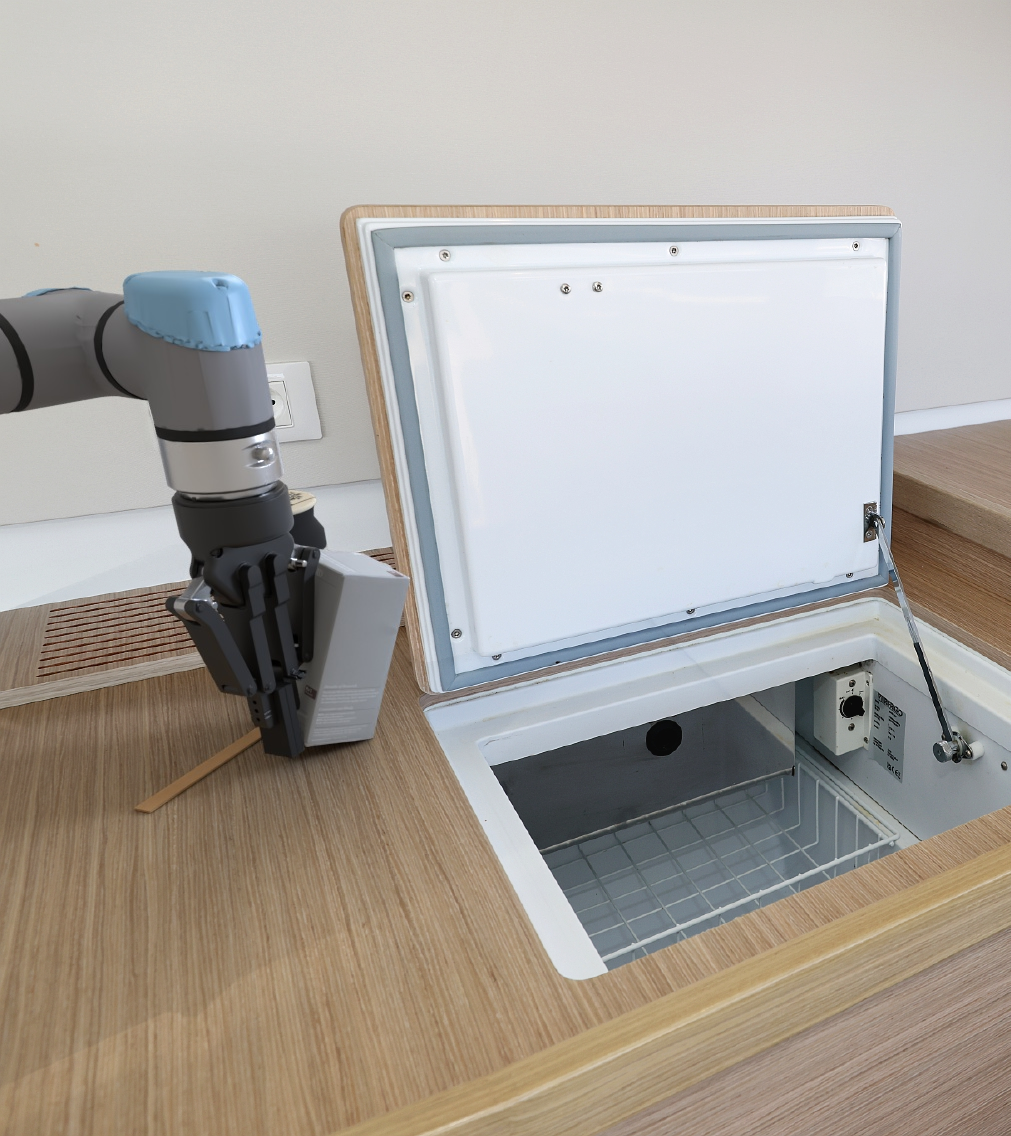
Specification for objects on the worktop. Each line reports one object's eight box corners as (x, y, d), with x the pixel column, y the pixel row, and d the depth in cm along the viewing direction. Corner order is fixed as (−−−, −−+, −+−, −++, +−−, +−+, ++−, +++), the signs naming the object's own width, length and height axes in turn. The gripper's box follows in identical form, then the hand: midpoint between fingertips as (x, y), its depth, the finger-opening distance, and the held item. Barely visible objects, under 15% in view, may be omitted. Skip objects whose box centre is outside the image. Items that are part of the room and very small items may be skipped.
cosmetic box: (256, 717, 84) (282, 545, 82) (335, 708, 90) (362, 548, 89) (305, 750, 80) (334, 570, 78) (385, 739, 86) (414, 571, 84)
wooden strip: (134, 810, 75) (133, 807, 75) (303, 699, 91) (302, 697, 91) (150, 813, 75) (149, 811, 75) (316, 701, 91) (316, 699, 91)
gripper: (198, 517, 65) (262, 803, 74) (334, 468, 77) (375, 720, 85) (108, 505, 66) (181, 787, 75) (255, 459, 78) (304, 707, 87)
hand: (284, 751), depth 80 cm, fingers closed
